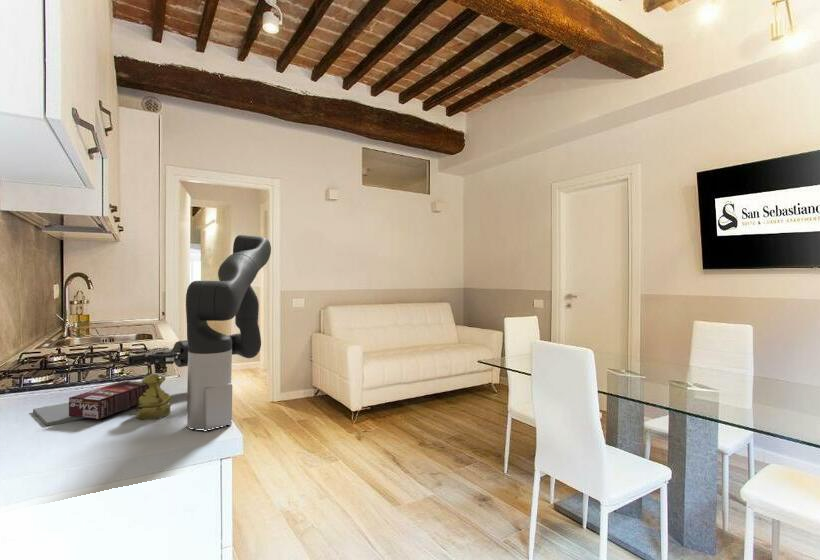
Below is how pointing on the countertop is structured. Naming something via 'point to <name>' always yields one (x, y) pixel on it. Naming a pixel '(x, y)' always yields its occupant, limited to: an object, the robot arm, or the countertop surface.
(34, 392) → the countertop surface
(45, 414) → the rubber mat
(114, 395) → the supplement box
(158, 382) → the brass knobbed piece
